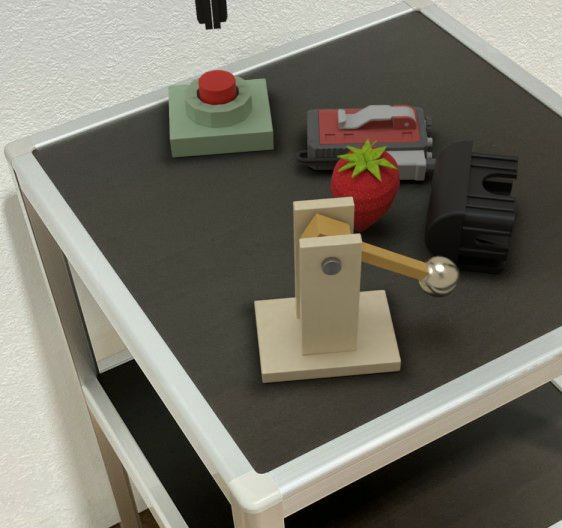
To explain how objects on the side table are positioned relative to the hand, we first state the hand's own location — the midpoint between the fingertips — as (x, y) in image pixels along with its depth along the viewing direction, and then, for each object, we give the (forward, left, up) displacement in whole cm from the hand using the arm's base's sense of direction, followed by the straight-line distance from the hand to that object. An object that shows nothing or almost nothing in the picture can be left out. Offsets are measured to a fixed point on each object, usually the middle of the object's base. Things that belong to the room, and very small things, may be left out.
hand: (213, 24), depth 89 cm
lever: (-11, +30, -4) cm, 32 cm away
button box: (0, 0, -11) cm, 11 cm away
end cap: (-21, +19, -11) cm, 30 cm away
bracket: (-7, +30, -11) cm, 33 cm away
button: (0, 0, -8) cm, 8 cm away
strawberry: (-12, +17, -11) cm, 24 cm away
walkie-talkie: (-17, +7, -11) cm, 22 cm away
